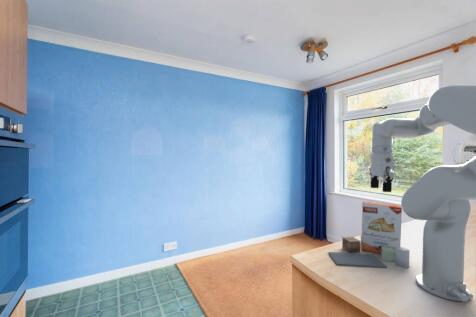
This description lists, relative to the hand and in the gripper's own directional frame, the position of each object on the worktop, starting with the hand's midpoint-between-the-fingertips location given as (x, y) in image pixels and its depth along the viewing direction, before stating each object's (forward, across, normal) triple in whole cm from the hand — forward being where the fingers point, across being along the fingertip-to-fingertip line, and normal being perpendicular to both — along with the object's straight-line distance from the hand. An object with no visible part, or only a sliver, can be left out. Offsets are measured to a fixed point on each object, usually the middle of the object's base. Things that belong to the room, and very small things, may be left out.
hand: (380, 189), depth 95 cm
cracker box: (+27, -1, 0) cm, 27 cm away
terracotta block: (+27, +6, +2) cm, 28 cm away
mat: (+27, -10, +14) cm, 32 cm away
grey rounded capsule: (+27, -12, -2) cm, 29 cm away
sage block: (+27, -7, 0) cm, 28 cm away
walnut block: (+27, -1, +12) cm, 30 cm away
